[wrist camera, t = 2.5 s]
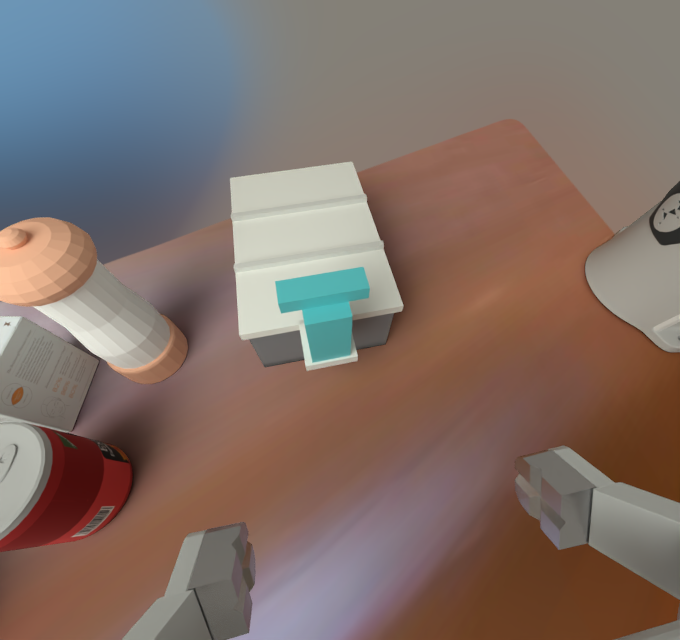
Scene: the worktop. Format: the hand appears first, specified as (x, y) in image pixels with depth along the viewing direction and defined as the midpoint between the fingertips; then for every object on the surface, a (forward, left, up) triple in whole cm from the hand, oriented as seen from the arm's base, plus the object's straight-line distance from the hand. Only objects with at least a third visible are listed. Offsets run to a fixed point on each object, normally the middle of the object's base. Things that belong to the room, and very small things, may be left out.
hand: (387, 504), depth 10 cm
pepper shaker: (+25, -12, -24) cm, 36 cm away
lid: (+8, -22, -15) cm, 28 cm away
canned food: (+25, +2, -24) cm, 34 cm away
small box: (+33, -6, -24) cm, 41 cm away
